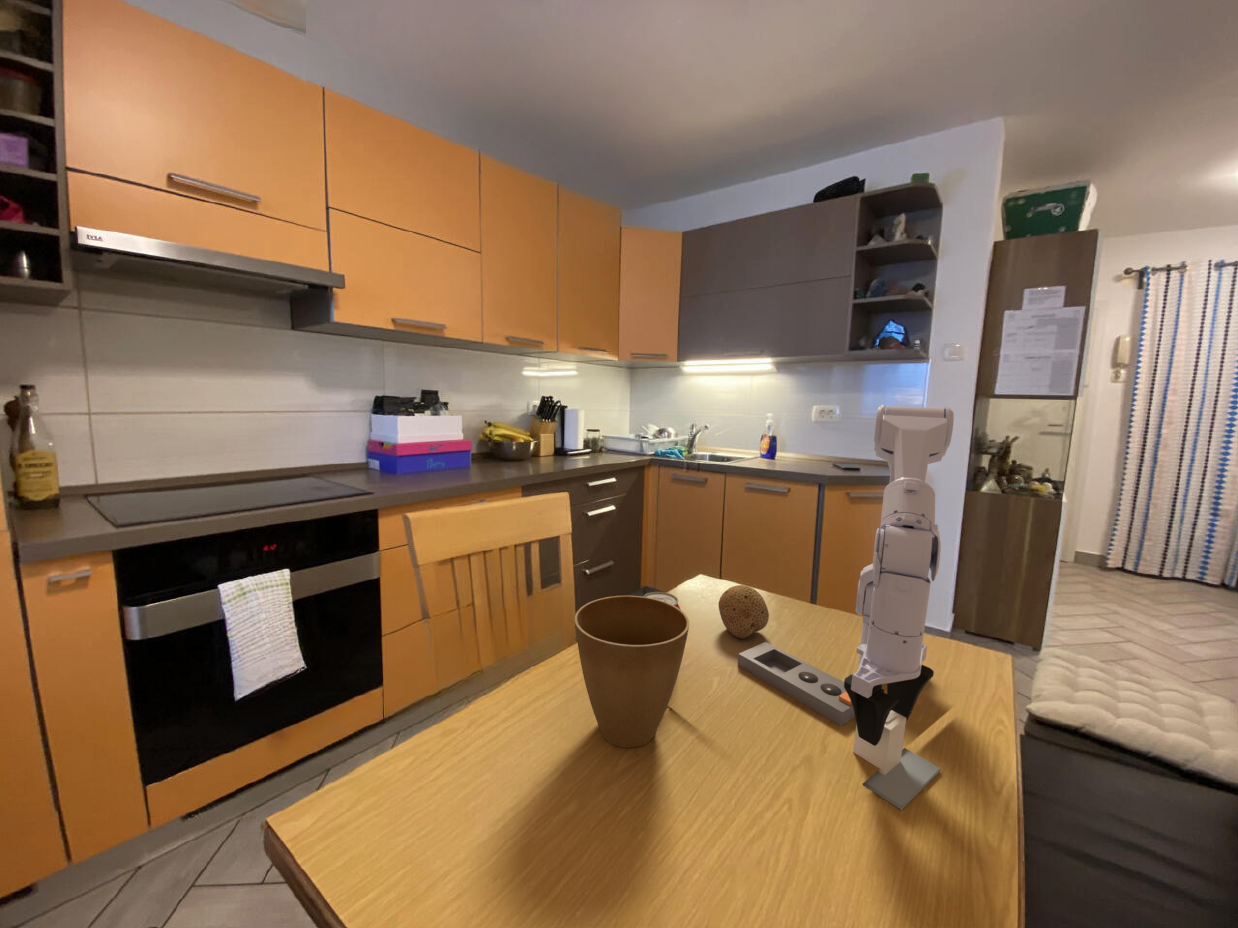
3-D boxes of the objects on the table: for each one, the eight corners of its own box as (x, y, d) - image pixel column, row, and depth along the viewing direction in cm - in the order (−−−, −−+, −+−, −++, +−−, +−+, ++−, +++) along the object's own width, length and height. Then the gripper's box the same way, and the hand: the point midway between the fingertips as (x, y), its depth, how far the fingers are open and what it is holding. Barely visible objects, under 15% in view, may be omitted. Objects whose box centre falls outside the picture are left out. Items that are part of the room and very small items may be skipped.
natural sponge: (751, 623, 100) (754, 575, 98) (776, 646, 91) (781, 594, 90) (709, 628, 97) (712, 579, 96) (731, 652, 89) (735, 598, 87)
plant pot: (706, 745, 66) (713, 629, 63) (604, 785, 58) (608, 657, 56) (645, 684, 78) (649, 586, 76) (555, 712, 71) (557, 605, 69)
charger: (869, 742, 66) (874, 699, 65) (900, 761, 63) (906, 716, 62) (852, 755, 64) (857, 710, 63) (884, 775, 61) (890, 728, 60)
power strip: (764, 657, 87) (765, 639, 87) (866, 713, 73) (869, 691, 72) (737, 670, 83) (738, 650, 82) (840, 732, 69) (842, 708, 68)
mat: (860, 726, 70) (861, 723, 70) (939, 771, 62) (940, 767, 62) (819, 756, 64) (820, 752, 64) (901, 810, 56) (902, 806, 56)
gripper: (891, 599, 68) (880, 692, 70) (831, 627, 59) (820, 732, 61) (949, 619, 62) (935, 719, 64) (893, 654, 54) (878, 768, 56)
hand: (883, 728), depth 62 cm, fingers open, 7 cm apart
